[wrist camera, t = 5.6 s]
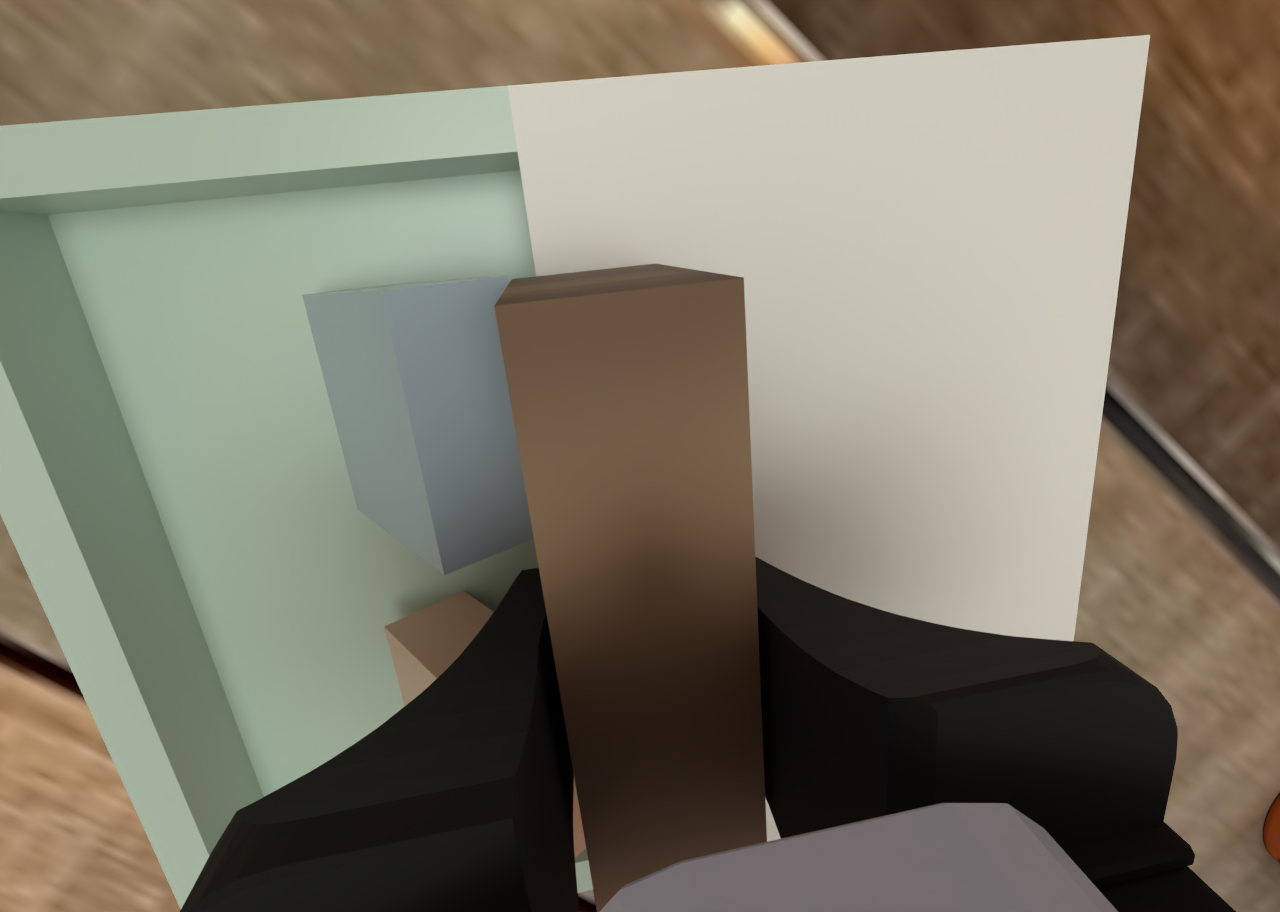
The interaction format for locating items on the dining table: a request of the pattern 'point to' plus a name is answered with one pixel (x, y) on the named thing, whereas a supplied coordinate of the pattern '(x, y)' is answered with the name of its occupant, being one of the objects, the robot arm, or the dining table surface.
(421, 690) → the tile
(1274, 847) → the paper cup
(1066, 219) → the bench
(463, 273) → the tray
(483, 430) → the tile
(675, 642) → the bar
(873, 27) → the dining table surface
